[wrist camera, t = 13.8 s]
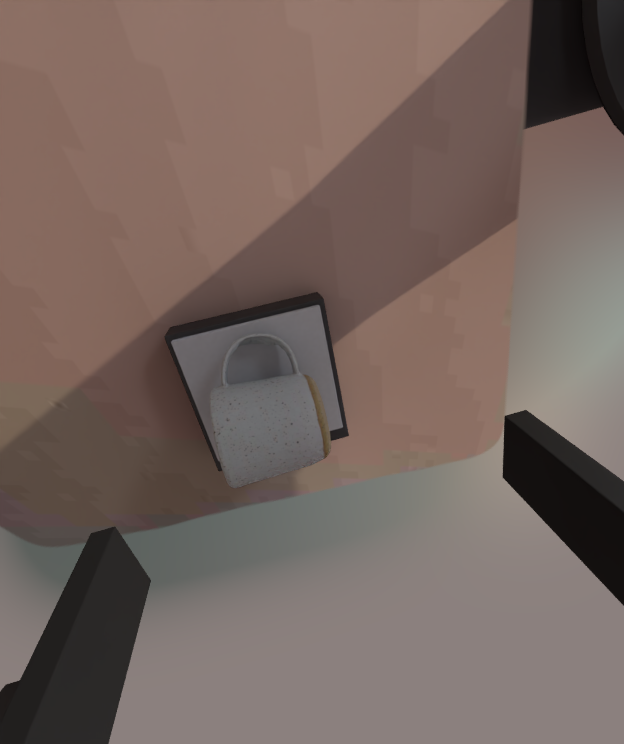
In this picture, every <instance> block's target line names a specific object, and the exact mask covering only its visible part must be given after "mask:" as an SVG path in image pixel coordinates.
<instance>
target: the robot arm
mask: <svg viewBox="0 0 624 744" xmlns="http://www.w3.org/2000/svg"><path fill="white" fill-rule="evenodd" d="M503 478H504V479H505V480H506V481H507V482H508V483H509V484H510V486H511V487H512V488H513V489H514V490H515V491H516V492H517V493H518V494H519V495H520V496H521V497H522V498H523V499H524V500H525V501H526V502H527V504H528V505H530V507H531V508H532V509H533V510H534V511H535V512H536V513H537V514H538V515H539V516H540V517H541V518H542V519H543V521H544V522H545V523H546V524H547V525H548V526H549V527H550V528H551V529H552V530H553V531H554V532H555V533H556V534H557V535H558V536H559V537H560V539H561V540H562V541H563V542H565V544H566V545H567V546H568V547H569V548H570V549H571V550H572V551H573V552H574V553H575V554H576V556H577V557H578V558H579V559H580V560H581V561H582V562H583V563H584V564H585V565H586V566H587V567H588V568H589V569H590V570H591V571H592V573H593V574H594V575H595V576H596V577H597V578H598V579H599V580H600V581H601V582H602V583H603V584H604V585H605V586H606V587H607V588H608V589H609V591H610V592H611V593H612V594H613V595H614V596H615V597H616V598H617V599H618V600H619V601H620V602H621V603H622V604H623V605H624V481H623V480H621V479H620V478H619V477H617V476H616V475H615V474H613V473H612V472H610V471H609V470H608V469H606V468H605V467H604V466H602V465H601V464H599V463H598V462H597V461H595V460H594V459H593V458H591V457H590V456H588V455H587V454H586V453H584V452H583V451H582V450H580V449H579V448H577V447H576V446H575V445H573V444H572V443H570V442H569V441H568V440H567V439H565V438H564V437H562V436H561V435H560V434H558V433H557V432H556V431H554V430H553V429H551V428H550V427H549V426H547V425H546V424H545V423H543V422H542V421H540V420H539V419H538V418H536V417H535V416H534V415H532V414H531V413H529V412H528V411H527V410H524V411H521V412H517V413H514V414H510V415H507V416H505V422H504V455H503ZM150 582H151V580H150V578H149V577H148V575H147V574H146V572H145V571H144V569H143V568H142V566H141V565H140V563H139V562H138V560H137V559H136V557H135V556H134V554H133V553H132V551H131V550H130V548H129V547H128V545H127V544H126V542H125V541H124V539H123V538H122V536H121V535H120V533H119V531H118V530H117V528H116V527H112V528H108V529H105V530H101V531H98V532H94V533H91V534H90V536H89V539H88V541H87V543H86V545H85V547H84V549H83V551H82V553H81V555H80V557H79V559H78V561H77V563H76V566H75V568H74V570H73V572H72V574H71V576H70V578H69V580H68V582H67V584H66V586H65V588H64V591H63V592H62V595H61V597H60V599H59V601H58V603H57V605H56V607H55V609H54V611H53V613H52V616H51V617H50V620H49V621H48V624H47V626H46V628H45V630H44V632H43V634H42V636H41V638H40V640H39V642H38V644H37V646H36V648H35V650H34V653H33V655H32V657H31V659H30V661H29V663H28V665H27V667H26V669H25V671H24V673H23V675H22V677H21V680H20V681H17V682H13V683H10V684H7V685H5V686H4V688H3V689H2V690H1V692H0V744H108V743H109V739H110V735H111V731H112V727H113V724H114V720H115V716H116V712H117V708H118V704H119V701H120V697H121V693H122V689H123V685H124V681H125V678H126V674H127V670H128V666H129V663H130V659H131V655H132V651H133V647H134V643H135V639H136V636H137V632H138V628H139V624H140V620H141V617H142V613H143V609H144V605H145V601H146V597H147V594H148V590H149V586H150Z"/></svg>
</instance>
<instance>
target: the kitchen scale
mask: <svg viewBox="0 0 624 744" xmlns="http://www.w3.org/2000/svg"><path fill="white" fill-rule="evenodd" d="M254 333H266V334H271V335H274V336H276V337H278V338H280V339H281V340H283V341H284V342H285V343H286V344H287V345H288V346H289V347H290V349H291V350H292V352H293V353H294V356H295V358H296V360H297V364H298V369H299V372H300V373H301V374H304V375H308V376H310V377H312V378H313V380H314V381H315V382H316V384H317V387H318V389H319V392H320V395H321V398H322V401H323V404H324V408H325V412H326V416H327V421H328V425H329V431H330V438H331V441H332V440H336V439H339V438H343V437H347V436H349V434H348V429H347V423H346V418H345V413H344V407H343V402H342V396H341V391H340V386H339V380H338V375H337V369H336V364H335V358H334V353H333V348H332V342H331V337H330V331H329V326H328V321H327V315H326V310H325V304H324V299H323V298H322V297H321V295H320V294H319V293H318V292H316V293H312V294H307V295H303V296H299V297H295V298H291V299H287V300H283V301H278V302H274V303H270V304H266V305H262V306H258V307H253V308H249V309H245V310H241V311H237V312H233V313H229V314H224V315H220V316H216V317H212V318H208V319H204V320H199V321H195V322H191V323H187V324H183V325H179V326H175V327H171V328H170V329H169V330H168V332H167V334H166V335H165V340H166V342H167V345H168V347H169V350H170V352H171V355H172V357H173V360H174V362H175V365H176V367H177V369H178V372H179V374H180V377H181V379H182V382H183V384H184V387H185V389H186V392H187V394H188V397H189V399H190V402H191V404H192V406H193V409H194V411H195V414H196V416H197V419H198V421H199V424H200V426H201V429H202V431H203V434H204V436H205V439H206V441H207V444H208V446H209V448H210V451H211V453H212V456H213V458H214V461H215V463H216V466H217V468H218V471H222V467H221V464H220V460H219V457H218V453H217V449H216V444H215V439H214V434H213V428H212V421H211V414H210V393H211V391H212V389H213V388H216V387H220V386H221V367H222V362H223V359H224V356H225V354H226V352H227V350H228V349H229V347H230V346H231V344H232V343H233V342H235V341H236V340H237V339H238V338H240V337H242V336H245V335H248V334H254ZM292 373H293V370H292V365H291V362H290V360H289V357H288V356H287V354H286V352H285V351H284V350H283V349H282V348H281V347H280V346H279V345H274V344H272V345H268V346H267V345H266V344H248V345H242V346H240V347H238V348H237V349H236V350H235V351H234V352H233V354H232V356H231V358H230V361H229V365H228V383H229V384H237V383H243V382H248V381H255V380H263V379H268V378H271V377H277V376H281V375H290V374H292Z"/></svg>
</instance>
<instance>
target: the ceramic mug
mask: <svg viewBox="0 0 624 744" xmlns="http://www.w3.org/2000/svg"><path fill="white" fill-rule="evenodd" d="M248 344H266V345H267V346H268V345H272V344H274V345H279V346H280V347H281V348H282V349H283V350H284V351H285V352H286V354H287V356H288V357H289V360H290V362H291V365H292V370H293V373H292V374H290V375H281V376H277V377H271V378H268V379H263V380H255V381H248V382H243V383H237V384H229V383H228V365H229V361H230V358H231V356H232V354H233V352H234V351H235V350H236V349H237V348H238V347H240V346H242V345H248ZM210 414H211V421H212V428H213V434H214V439H215V444H216V449H217V453H218V457H219V460H220V464H221V467H222V470H223V473H224V475H225V478H226V481H227V483H228V485H229V486H230V487H232V488H238V487H241V486H244V485H247V484H250V483H254V482H257V481H260V480H264V479H267V478H271V477H274V476H277V475H280V474H283V473H286V472H289V471H293V470H297V469H300V468H303V467H307V466H310V465H312V464H314V463H316V462H318V461H320V460H322V459H324V458H326V457H327V456H328V454H329V452H330V449H331V438H330V431H329V425H328V421H327V416H326V412H325V408H324V404H323V401H322V398H321V395H320V392H319V389H318V387H317V384H316V382H315V381H314V380H313V378H312V377H310V376H308V375H304V374H301V373H300V372H299V369H298V364H297V360H296V358H295V356H294V353H293V352H292V350H291V349H290V347H289V346H288V345H287V344H286V343H285V342H284V341H283V340H281V339H280V338H278V337H276V336H274V335H271V334H266V333H254V334H248V335H245V336H242V337H240V338H238V339H237V340H236V341H235V342H233V343H232V344H231V346H230V347H229V349H228V350H227V352H226V354H225V356H224V359H223V362H222V367H221V386H220V387H216V388H213V389H212V391H211V393H210Z"/></svg>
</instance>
